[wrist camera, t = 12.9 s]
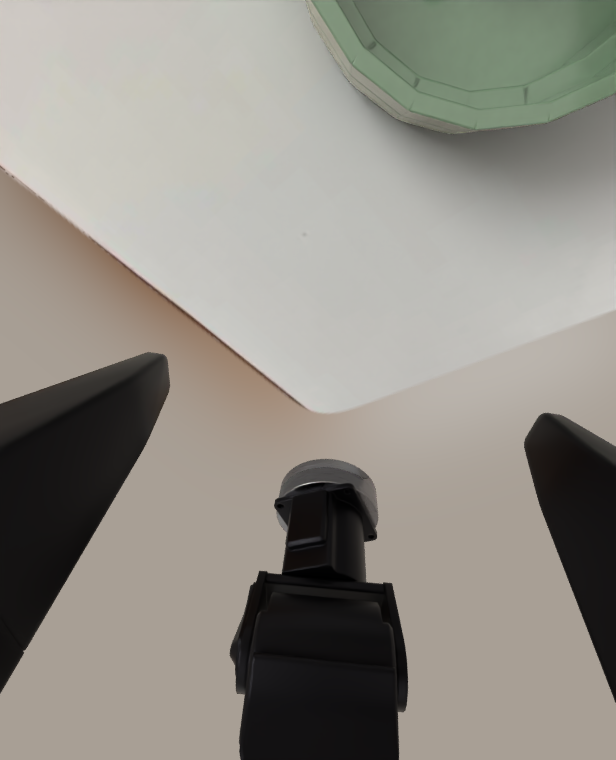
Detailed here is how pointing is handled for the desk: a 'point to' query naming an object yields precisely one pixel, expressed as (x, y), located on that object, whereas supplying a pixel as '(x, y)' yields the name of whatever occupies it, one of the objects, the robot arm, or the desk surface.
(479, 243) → the desk surface
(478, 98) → the bowl
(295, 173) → the desk surface
